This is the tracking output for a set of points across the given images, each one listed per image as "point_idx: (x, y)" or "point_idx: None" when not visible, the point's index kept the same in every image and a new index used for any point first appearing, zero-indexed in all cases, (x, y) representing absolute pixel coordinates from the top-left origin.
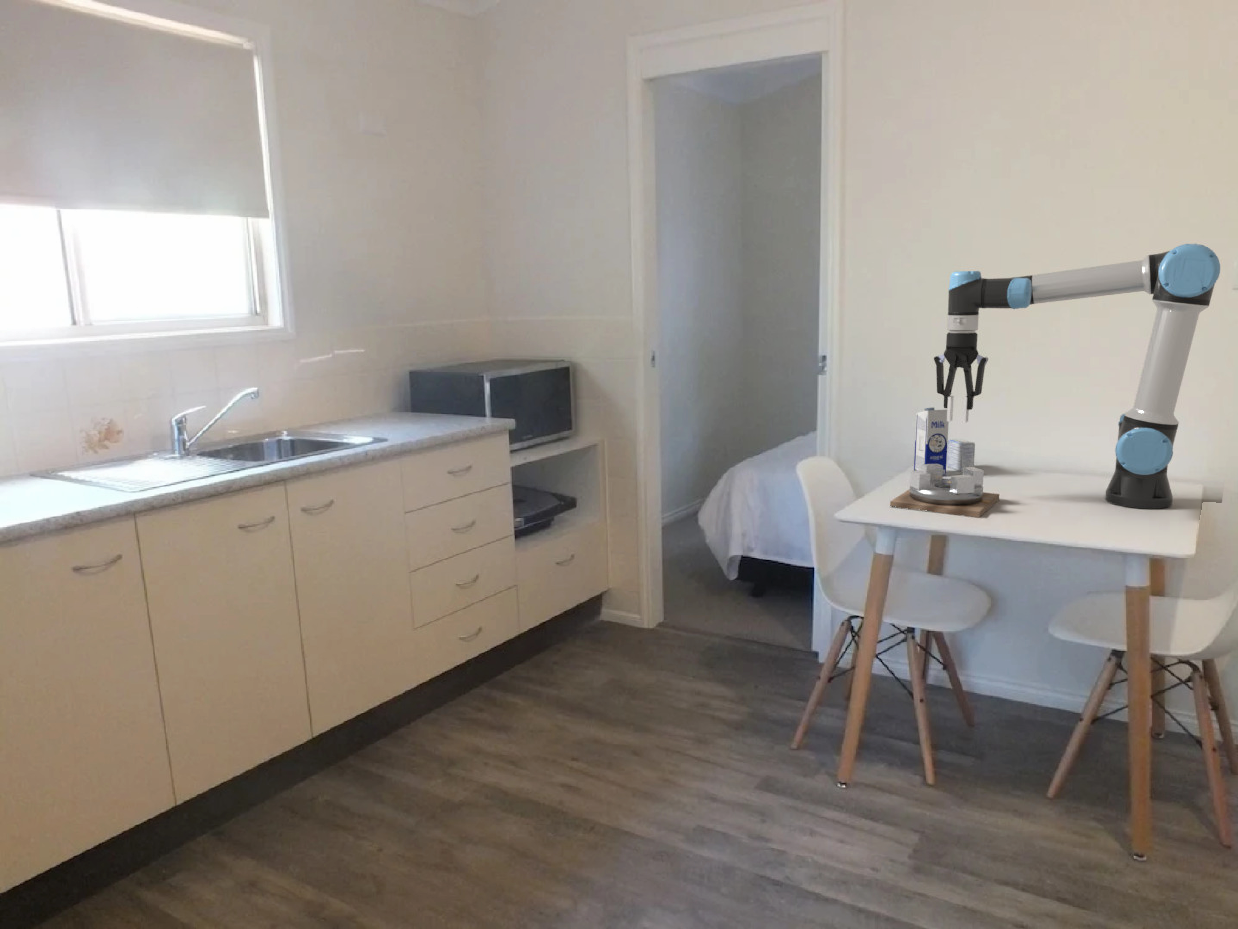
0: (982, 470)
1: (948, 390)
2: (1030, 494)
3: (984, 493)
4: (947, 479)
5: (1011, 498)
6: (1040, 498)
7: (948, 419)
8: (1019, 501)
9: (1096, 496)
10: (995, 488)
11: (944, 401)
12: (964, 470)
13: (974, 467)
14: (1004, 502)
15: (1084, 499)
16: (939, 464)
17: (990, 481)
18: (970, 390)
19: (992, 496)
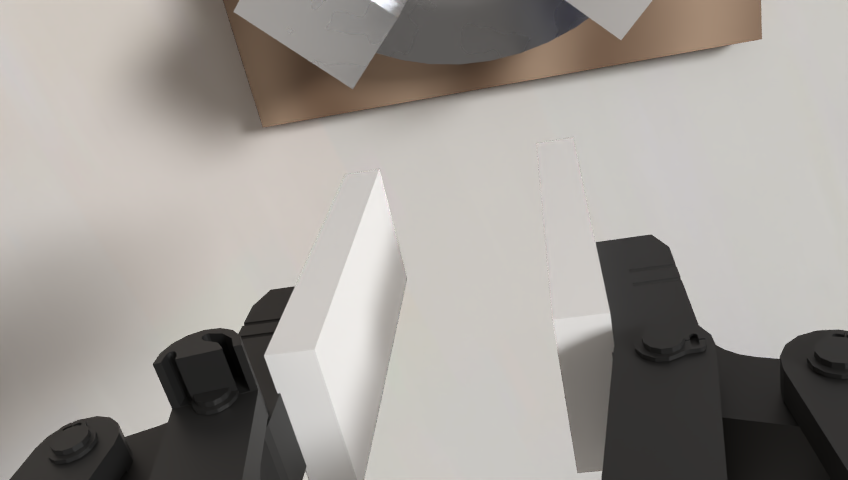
0: (238, 3)
1: (626, 403)
2: (225, 310)
3: (327, 86)
4: (528, 21)
5: (242, 181)
6: (149, 262)
7: (554, 152)
8: (179, 142)
9: (23, 422)
10: (407, 334)
11: (672, 287)
12: (380, 1)
13: (335, 74)
14: (218, 72)
15: (18, 349)
16: (592, 18)
17: (493, 449)
18: (165, 467)
19: (257, 42)
